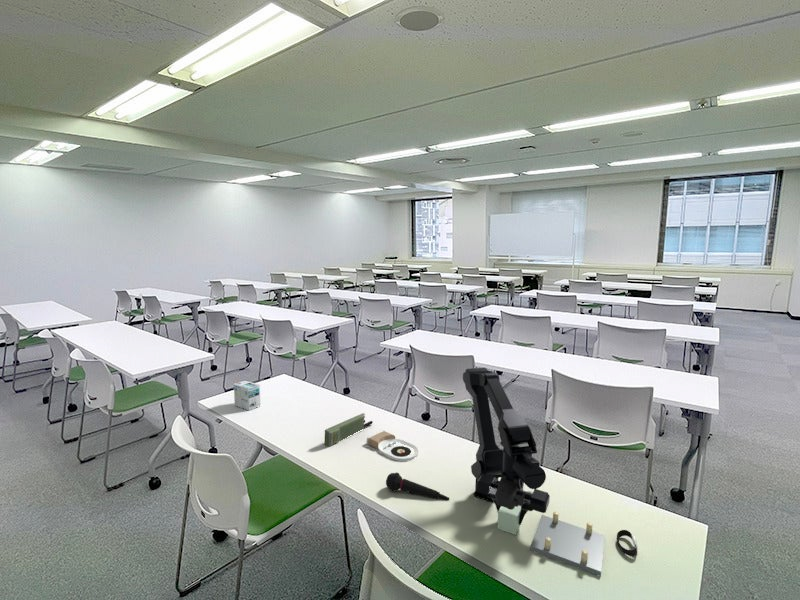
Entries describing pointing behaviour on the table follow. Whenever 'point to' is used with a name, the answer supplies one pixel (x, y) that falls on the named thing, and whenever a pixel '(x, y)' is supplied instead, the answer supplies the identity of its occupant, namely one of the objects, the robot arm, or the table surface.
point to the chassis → (569, 543)
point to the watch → (627, 533)
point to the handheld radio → (345, 429)
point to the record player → (391, 446)
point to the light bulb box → (247, 395)
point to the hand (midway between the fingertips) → (510, 520)
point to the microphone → (411, 487)
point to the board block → (509, 519)
